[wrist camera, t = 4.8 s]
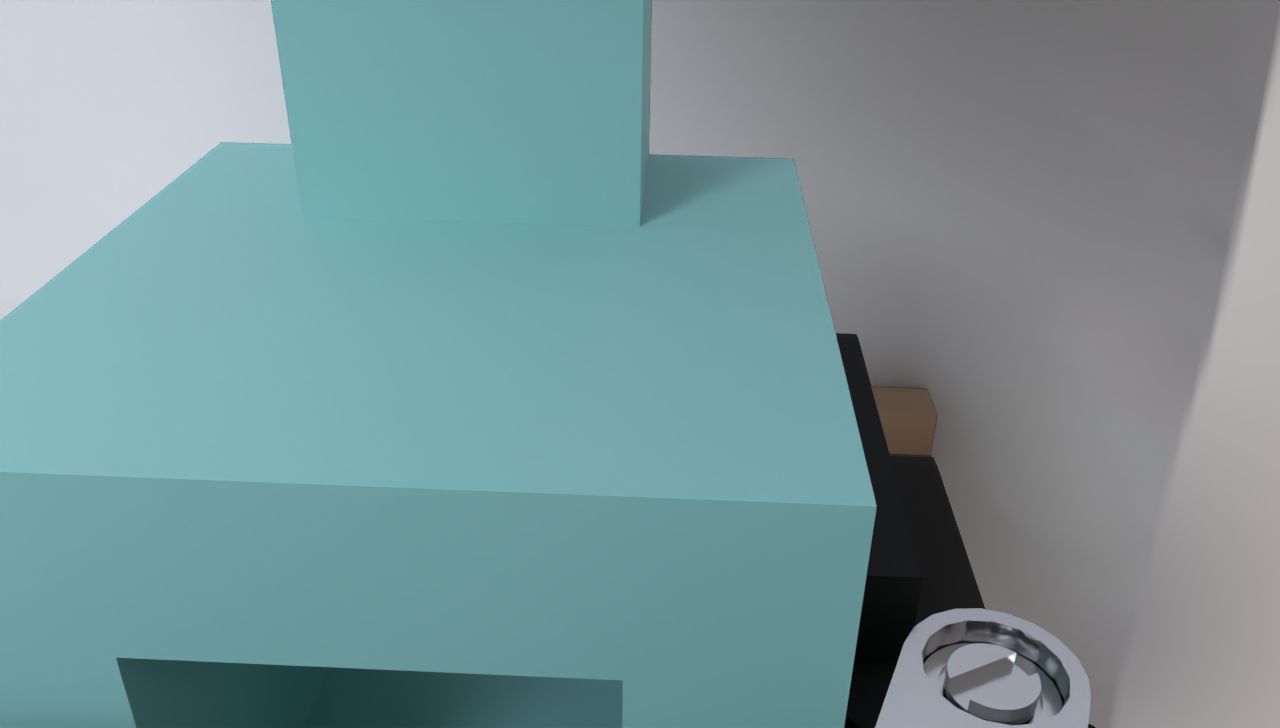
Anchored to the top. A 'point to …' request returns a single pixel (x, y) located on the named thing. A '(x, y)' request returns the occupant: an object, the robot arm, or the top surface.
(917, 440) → the board
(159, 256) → the teal piece
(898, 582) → the robot arm
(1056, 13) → the top surface
